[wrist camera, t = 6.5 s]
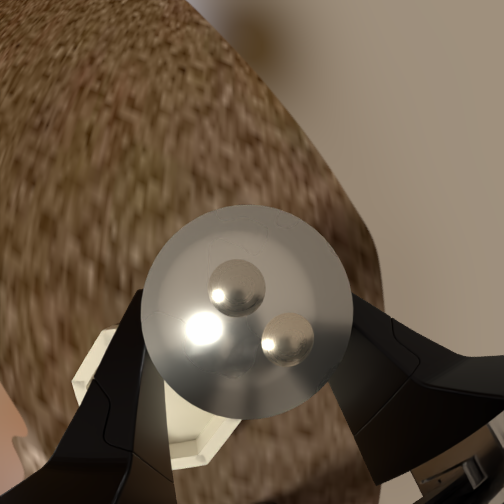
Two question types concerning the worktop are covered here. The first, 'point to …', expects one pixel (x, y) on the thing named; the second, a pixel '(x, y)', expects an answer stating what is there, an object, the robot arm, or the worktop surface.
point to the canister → (246, 312)
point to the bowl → (169, 415)
